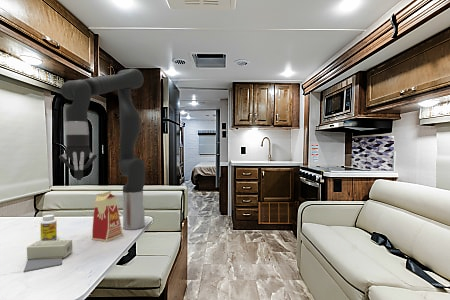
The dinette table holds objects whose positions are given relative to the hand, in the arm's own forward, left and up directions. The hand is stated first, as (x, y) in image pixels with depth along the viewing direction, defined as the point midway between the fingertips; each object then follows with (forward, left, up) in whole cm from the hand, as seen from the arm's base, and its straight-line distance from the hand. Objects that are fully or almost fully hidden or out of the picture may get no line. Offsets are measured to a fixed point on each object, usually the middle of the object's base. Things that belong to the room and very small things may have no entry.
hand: (79, 179), depth 101 cm
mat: (+11, +6, -26) cm, 29 cm away
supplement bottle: (+11, -18, -26) cm, 34 cm away
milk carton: (-10, -9, -26) cm, 30 cm away
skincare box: (+4, +5, -24) cm, 24 cm away
